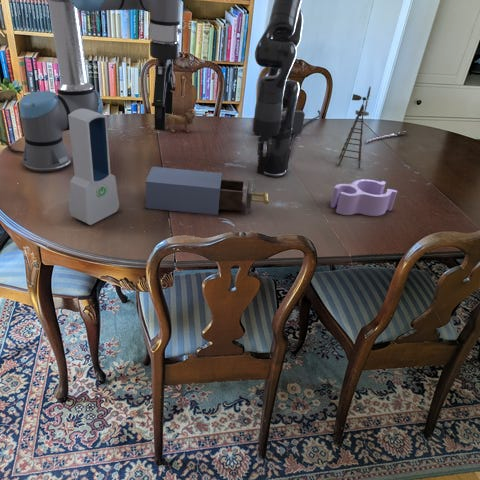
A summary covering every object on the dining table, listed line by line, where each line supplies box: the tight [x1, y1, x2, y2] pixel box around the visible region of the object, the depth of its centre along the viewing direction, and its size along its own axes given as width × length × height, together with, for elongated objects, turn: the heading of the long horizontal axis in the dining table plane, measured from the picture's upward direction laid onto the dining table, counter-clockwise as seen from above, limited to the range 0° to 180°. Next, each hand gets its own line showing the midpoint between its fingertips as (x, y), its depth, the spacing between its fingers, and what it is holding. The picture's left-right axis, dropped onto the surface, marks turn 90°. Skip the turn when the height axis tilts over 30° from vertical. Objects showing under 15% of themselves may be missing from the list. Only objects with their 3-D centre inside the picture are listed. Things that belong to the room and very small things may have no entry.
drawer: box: [219, 178, 269, 215], centre depth 143 cm, size 26×10×7 cm, turn 89°
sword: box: [365, 132, 406, 144], centre depth 214 cm, size 31×3×1 cm, turn 126°
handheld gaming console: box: [252, 109, 306, 136], centre depth 203 cm, size 23×3×10 cm, turn 108°
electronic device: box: [68, 109, 120, 226], centre depth 127 cm, size 12×8×30 cm, turn 148°
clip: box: [330, 178, 398, 217], centre depth 152 cm, size 20×12×7 cm, turn 109°
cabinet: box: [145, 166, 223, 216], centre depth 143 cm, size 22×11×9 cm, turn 89°
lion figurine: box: [165, 108, 197, 133], centre depth 195 cm, size 15×5×9 cm, turn 110°
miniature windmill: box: [338, 86, 372, 169], centre depth 177 cm, size 9×8×30 cm
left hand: (163, 121), depth 131 cm, fingers open, 13 cm apart
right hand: (260, 173), depth 139 cm, fingers closed
